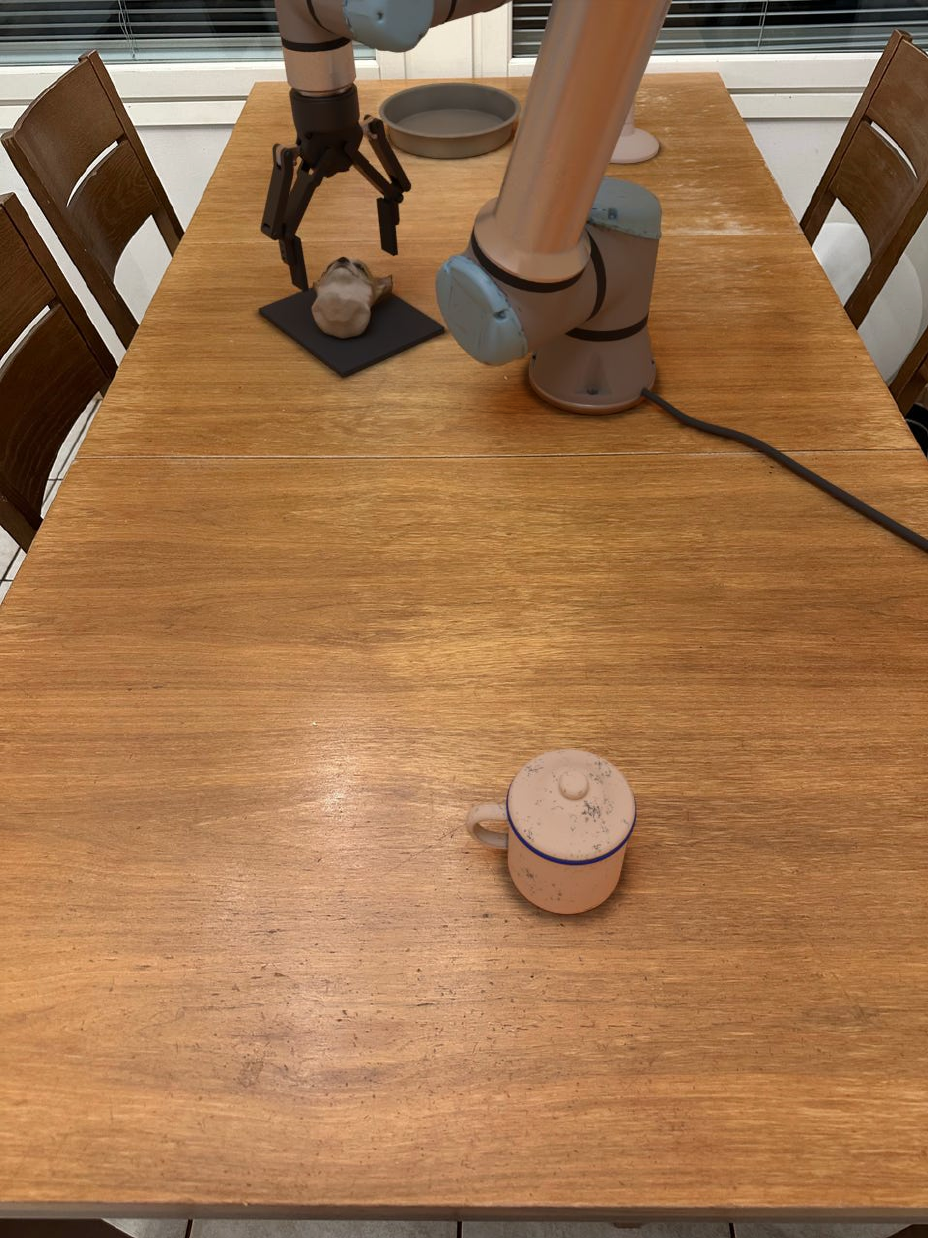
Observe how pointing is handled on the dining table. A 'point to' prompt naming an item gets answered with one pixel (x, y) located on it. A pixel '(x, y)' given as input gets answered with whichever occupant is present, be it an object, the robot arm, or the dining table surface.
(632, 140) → the candlestick
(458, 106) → the cake pan
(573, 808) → the teacup with lid
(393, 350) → the desk pad
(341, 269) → the ceramic sculpture
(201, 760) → the dining table surface
